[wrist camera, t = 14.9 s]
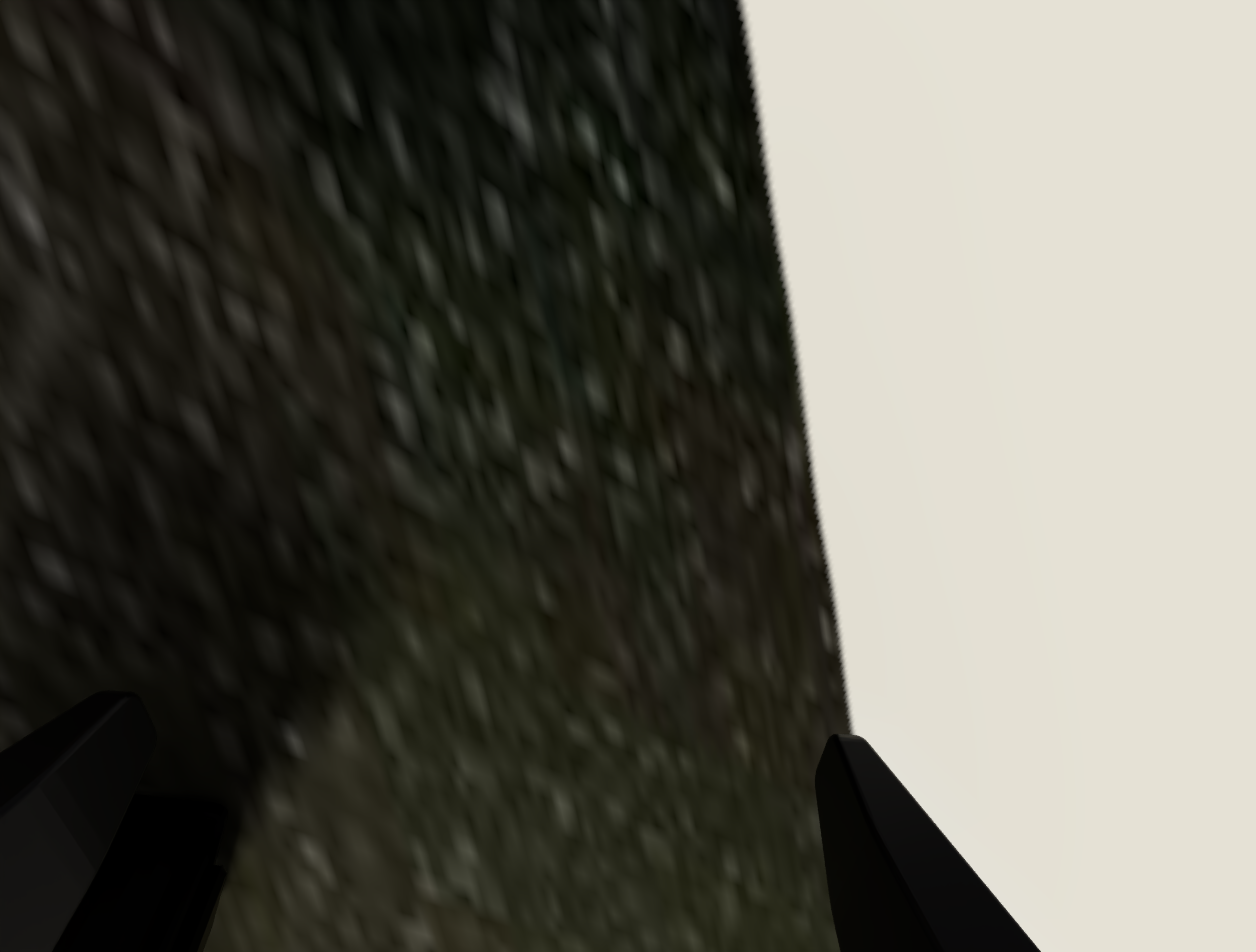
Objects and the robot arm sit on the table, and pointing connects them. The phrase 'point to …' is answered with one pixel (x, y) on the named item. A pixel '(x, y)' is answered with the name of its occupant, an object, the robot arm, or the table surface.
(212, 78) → the table surface
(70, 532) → the table surface
